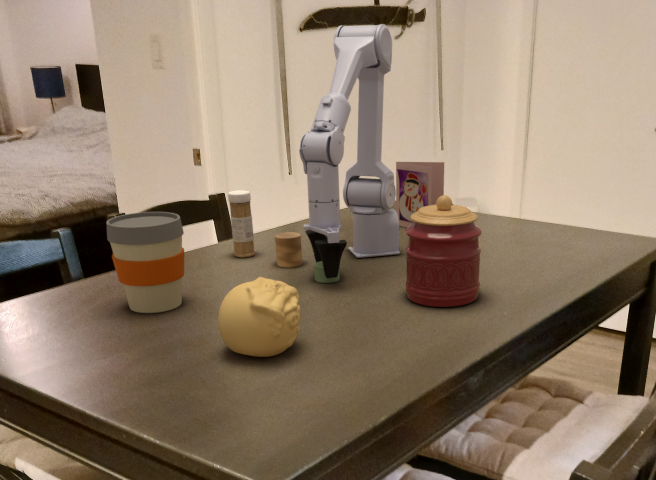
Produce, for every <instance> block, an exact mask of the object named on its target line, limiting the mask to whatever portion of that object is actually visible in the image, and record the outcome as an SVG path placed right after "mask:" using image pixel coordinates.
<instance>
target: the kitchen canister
mask: <svg viewBox="0 0 656 480" xmlns="http://www.w3.org/2000/svg"><path fill="white" fill-rule="evenodd" d="M478 218H479V217H478V214H477V213H475V212H473V211H471V209H470V208H469V207H467V206H463V205H459V204H453V200H452V197H450V196H449V195H443V196H440V197H439V198H438V199H437V202H436V205H430V206H425V207H422V208H420V209H419V210H418V211H417V212H415V213H414V214H412V215H411V220H412V221H413V223H412V225H410V226H409V227H408V228H407V227H406V228H405V234H406V235H407V237H408V244H407V246H406V248H405V253H406V281H405V291H406V297H407V299H409V301H411V302H413V303H416V304H417V305H422V306H426V307H435V308H436V307H437V308H447V307H448V308H449V307H450V308H451V307H460V306H464V305H469V304H471V303H473V302H474V301H476V300H477V299H478V297H479V292H480V286H481V282H480V267H481V265H480V264H481V262H480V261H481V254H482V248H481V246H480V245H479V243H480V242H479V241H480V240H479V238H480V236H481V235H482V234H483V229H482V228H481V227H480V226H479V225H477V223H476V221H477V220H478Z"/></svg>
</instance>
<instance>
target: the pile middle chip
mask: <svg viewBox="0 0 656 480" xmlns="http://www.w3.org/2000/svg"><path fill="white" fill-rule="evenodd" d="M274 240H275V242H274V243H275V252H276V251H277V252H281V253H293V252H298V251H300V250H301V249H302V248H303V247H302V235H301V233H299V232H295V231H286V232H284V231H283V232H278V233H277V234H275V235H274ZM302 250H303V249H302Z"/></svg>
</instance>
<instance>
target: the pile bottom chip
mask: <svg viewBox="0 0 656 480" xmlns="http://www.w3.org/2000/svg"><path fill="white" fill-rule="evenodd" d="M302 250H303V249H301V250H300V251H298V252H293V253H281V252H277V251H276V250H275V257H276V266H278V267H280V268H286V269H287V268H297V267H300V266H302V265H303V251H302Z"/></svg>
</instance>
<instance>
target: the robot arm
mask: <svg viewBox="0 0 656 480" xmlns="http://www.w3.org/2000/svg"><path fill="white" fill-rule="evenodd" d="M333 52H334V57H335V60H336V62H335V66H334V70H333V74H332V80H331V82H330V88H329V92H328V94H325V95H323V96H322V97H321V98H320V101H319V104H318V107H317V110H316V113H315V116H314V119H313V122H312V125H311V128H310V130H309V131H307V132H306V133H304V134H303V135H302V137H301V139H300V142H299V143H300V144H299V150H298V152H299V158H300V160H301V162H302V165H303V167H302V168H303V172H304V174H305V175H306V180H307V181H306V182H307V183H306V184H307V200H308V202H307V203H308V219H309V220H308V222H309V223H304V224H302V228H303V230H305V234H306V237H308V240H309V242H310V246H311V249H312V252H313V257H314V261H315V263H317V262H320V261H322V263H323V269H324V273H325V276H326V278H336V277H337V276H338V271H339V267H340V264H341V260H342V257H343V253H344V251H345V249H346V247H347V244H348V242H347V240H345V239H342V240H341V239H340V231H341V230H342V222H341V202H340V201H341V200H340V175H339V173H340V172H339V165H340V164H341V163H342V160H343V157H344V153H345V141H346V136H345V134H344V133H345V129H346V127H347V123H348V120H349V117H350V114H351V111H352V106H351V104H350V102H349V98H350V96H351V94H352V91H353V89H354V87H355V84H356V82H357V80H358V104H357V105H358V107H357V144H356V145H357V146H356V149H357V151H356V155H357V156H356V162H355V163H354V164H353V165H352V166H351V167H350V168H348V169H347V170H346V171H345V179H344V184H343V187H342V199H343V202H344V204H345V206H346V207H347V208H348V209H349V212H352V240H353V241H352V242H353V246H348V248H347V250H349V252H351V254H353V256H354V257H355V258H357V259H361V258H373V257H375V258H376V257H383V256H393V255H394V256H395V255H400V254H401V251H400V226H399V220H398V215H397V212H396V209H394V208H392V207H393V206H394V204H395V203H396V184H395V173H394V172H393V171H392V170H391V169H390V168H389V167H388V166H387V165H386V164H384V162H382V152H383V151H382V149H383V147H382V146H383V123H384V121H383V120H384V119H383V117H384V91H385V89H384V88H385V76H386V74H389V72H391V71H392V64H393V63H392V62H393V38H392V35H391V31H390V29H389V28H388V26H387V25H386V24H385V23H380V24H376V25H375V24H374V25H373V24H370V25H342V24H341V25H339V26H338V27H337V28H336V30H335V32H334V36H333ZM371 177H373V178H371ZM374 177H375V178H374Z"/></svg>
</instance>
